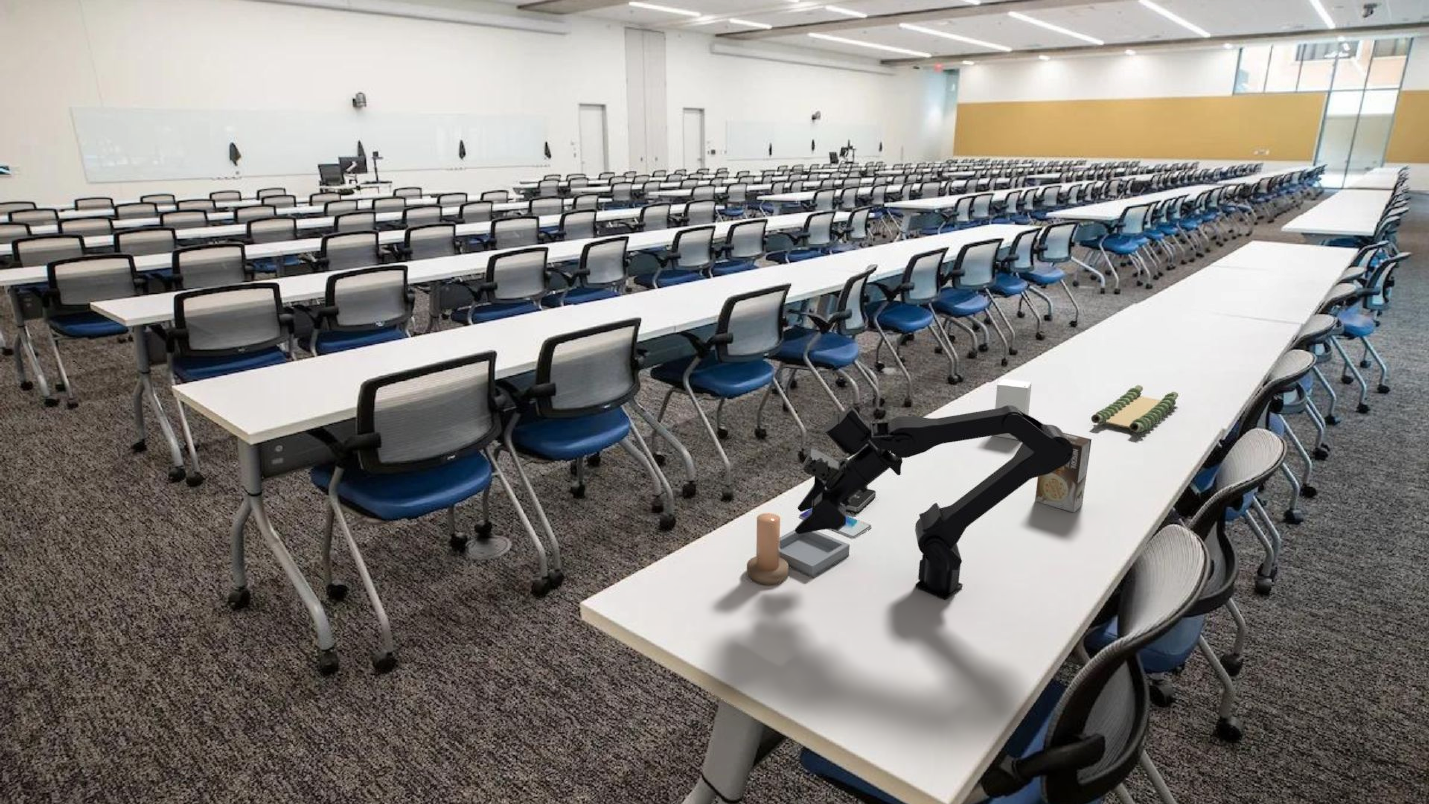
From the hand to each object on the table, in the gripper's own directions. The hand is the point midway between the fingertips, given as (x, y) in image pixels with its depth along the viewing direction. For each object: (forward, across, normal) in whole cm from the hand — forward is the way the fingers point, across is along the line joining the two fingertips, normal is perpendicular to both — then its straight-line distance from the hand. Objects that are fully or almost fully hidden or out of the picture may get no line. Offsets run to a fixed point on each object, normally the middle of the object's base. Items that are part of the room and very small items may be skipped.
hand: (797, 520), depth 148 cm
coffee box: (-33, -42, +50) cm, 73 cm away
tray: (+7, -8, +10) cm, 15 cm away
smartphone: (+4, -24, +14) cm, 28 cm away
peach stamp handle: (+11, 0, +3) cm, 11 cm away
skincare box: (-31, -86, +48) cm, 103 cm away
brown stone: (+12, 0, +5) cm, 13 cm away
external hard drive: (+1, -35, +17) cm, 39 cm away
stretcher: (-60, -107, +76) cm, 145 cm away
